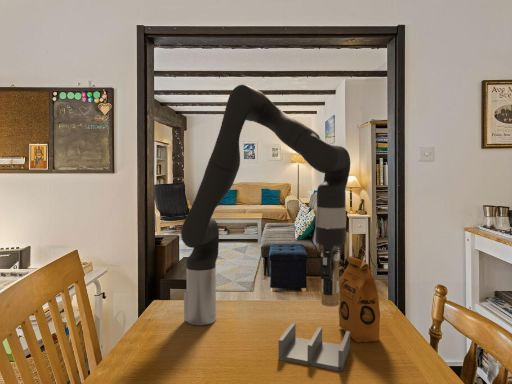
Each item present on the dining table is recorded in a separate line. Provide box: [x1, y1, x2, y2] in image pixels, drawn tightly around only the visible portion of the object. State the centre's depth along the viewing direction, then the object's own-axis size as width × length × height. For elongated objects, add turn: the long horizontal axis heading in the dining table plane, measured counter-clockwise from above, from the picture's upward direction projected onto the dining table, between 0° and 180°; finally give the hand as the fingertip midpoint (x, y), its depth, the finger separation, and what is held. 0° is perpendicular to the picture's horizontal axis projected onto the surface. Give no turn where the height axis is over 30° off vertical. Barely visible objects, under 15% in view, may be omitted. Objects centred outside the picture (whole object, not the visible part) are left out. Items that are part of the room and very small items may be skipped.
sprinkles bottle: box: [320, 252, 341, 308], centre depth 97 cm, size 5×5×14 cm
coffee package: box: [337, 256, 381, 343], centre depth 111 cm, size 10×12×22 cm
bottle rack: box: [277, 322, 351, 372], centre depth 99 cm, size 16×12×5 cm
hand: (329, 291), depth 97 cm, fingers closed on sprinkles bottle, 4 cm apart
